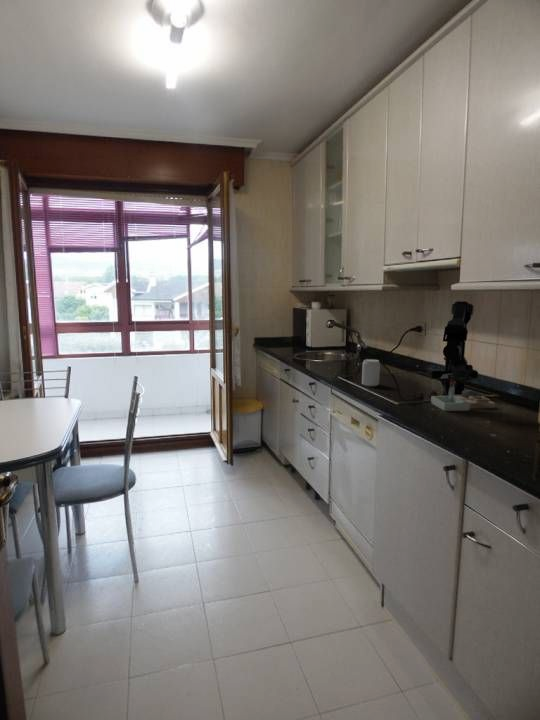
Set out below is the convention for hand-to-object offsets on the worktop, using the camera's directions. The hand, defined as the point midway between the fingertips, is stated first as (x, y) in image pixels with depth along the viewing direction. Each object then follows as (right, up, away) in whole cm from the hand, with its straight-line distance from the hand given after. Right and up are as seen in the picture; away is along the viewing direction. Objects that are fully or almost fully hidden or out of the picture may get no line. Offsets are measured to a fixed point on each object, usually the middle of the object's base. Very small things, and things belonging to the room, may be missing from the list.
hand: (450, 394), depth 178 cm
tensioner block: (+12, -4, +5) cm, 13 cm away
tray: (0, -5, +1) cm, 5 cm away
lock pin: (0, -2, 0) cm, 2 cm away
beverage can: (-23, +1, +39) cm, 45 cm away
